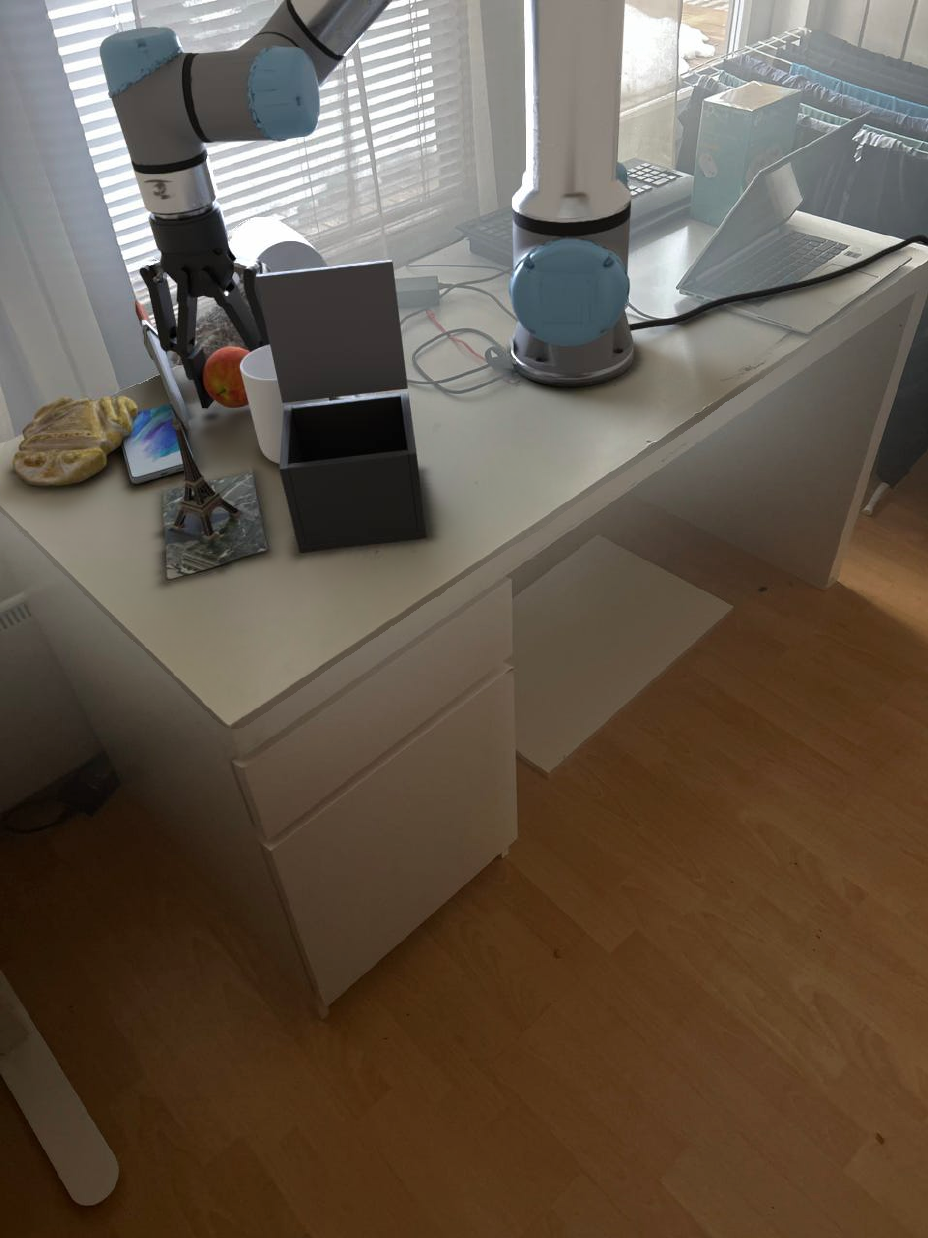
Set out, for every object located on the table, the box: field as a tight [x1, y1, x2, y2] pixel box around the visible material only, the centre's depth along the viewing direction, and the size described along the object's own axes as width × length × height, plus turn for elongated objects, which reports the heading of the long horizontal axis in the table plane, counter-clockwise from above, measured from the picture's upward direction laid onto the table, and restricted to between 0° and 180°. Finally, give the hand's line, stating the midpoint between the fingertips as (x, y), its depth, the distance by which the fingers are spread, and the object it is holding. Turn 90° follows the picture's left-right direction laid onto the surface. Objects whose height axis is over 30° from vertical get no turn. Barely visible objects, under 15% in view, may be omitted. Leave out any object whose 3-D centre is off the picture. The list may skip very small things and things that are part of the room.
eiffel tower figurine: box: [161, 409, 268, 581], centre depth 89 cm, size 15×10×13 cm
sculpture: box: [12, 395, 139, 487], centre depth 104 cm, size 13×4×15 cm
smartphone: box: [120, 403, 196, 485], centre depth 105 cm, size 7×1×15 cm
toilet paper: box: [229, 216, 328, 283], centre depth 126 cm, size 12×12×12 cm
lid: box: [256, 259, 409, 403], centre depth 87 cm, size 12×13×1 cm
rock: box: [169, 263, 271, 366], centre depth 116 cm, size 19×7×10 cm
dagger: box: [134, 300, 191, 430], centre depth 115 cm, size 7×2×30 cm
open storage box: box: [278, 391, 427, 554], centre depth 90 cm, size 12×13×10 cm
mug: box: [240, 345, 359, 465], centre depth 100 cm, size 9×12×11 cm
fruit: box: [203, 346, 250, 409], centre depth 107 cm, size 7×7×8 cm
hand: (238, 403), depth 109 cm, fingers closed on fruit, 7 cm apart
